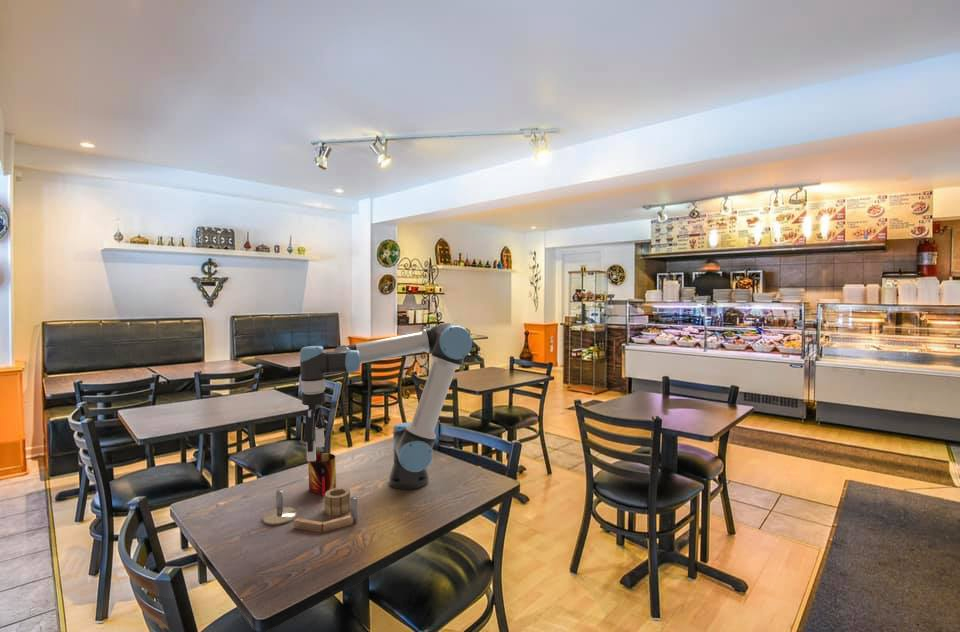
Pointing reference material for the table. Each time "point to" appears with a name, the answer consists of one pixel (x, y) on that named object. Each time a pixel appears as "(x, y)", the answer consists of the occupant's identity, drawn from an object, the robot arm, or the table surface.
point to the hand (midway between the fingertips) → (316, 453)
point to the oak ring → (337, 501)
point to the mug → (322, 474)
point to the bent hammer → (329, 524)
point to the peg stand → (279, 512)
